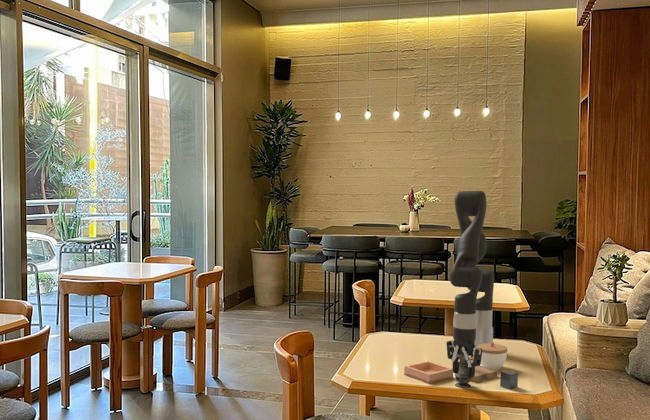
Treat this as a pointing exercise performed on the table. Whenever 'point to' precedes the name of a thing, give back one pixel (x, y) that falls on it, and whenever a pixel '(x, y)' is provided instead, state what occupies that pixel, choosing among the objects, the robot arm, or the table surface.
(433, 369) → the tray
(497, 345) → the lidded jar
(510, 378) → the dark gray block
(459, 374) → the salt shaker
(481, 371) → the bronze block
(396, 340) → the table surface
